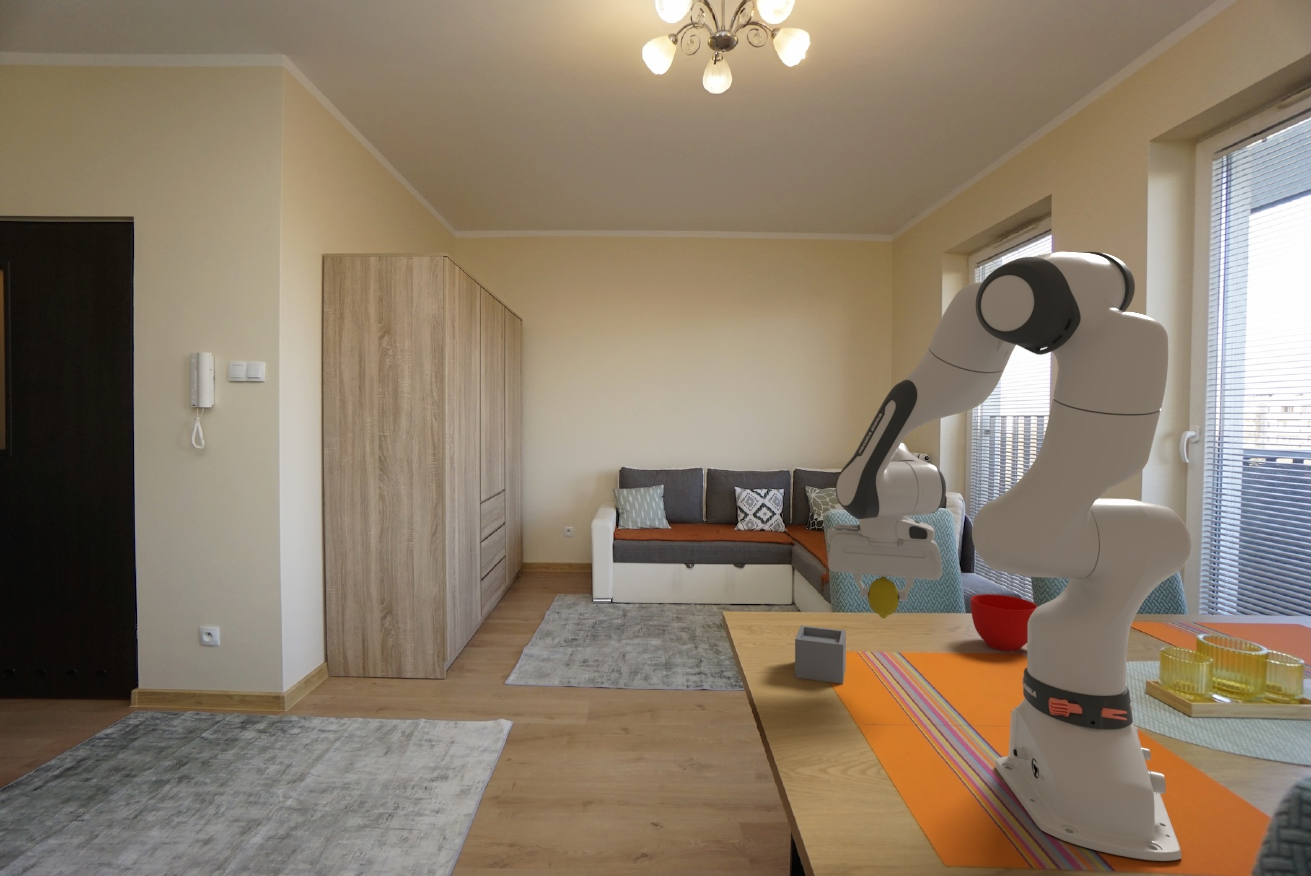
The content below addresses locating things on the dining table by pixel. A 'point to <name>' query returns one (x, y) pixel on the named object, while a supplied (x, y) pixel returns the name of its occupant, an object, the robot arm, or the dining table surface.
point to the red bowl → (1002, 620)
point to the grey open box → (820, 654)
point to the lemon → (883, 597)
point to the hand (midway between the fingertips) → (883, 598)
